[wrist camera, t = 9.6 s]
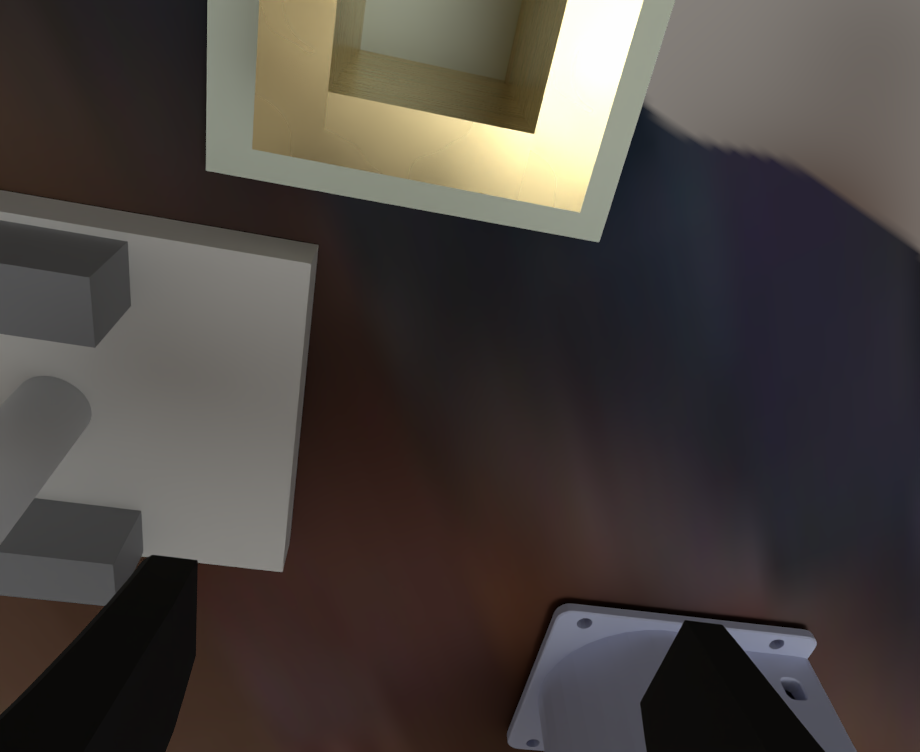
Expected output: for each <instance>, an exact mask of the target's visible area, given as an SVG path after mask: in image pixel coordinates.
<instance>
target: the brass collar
mask: <svg viewBox="0 0 920 752" xmlns="http://www.w3.org/2000/svg"><path fill="white" fill-rule="evenodd" d="M642 3H643V0H522V3H521V8H520V12H519V17H518V21H517V26H516V31H515V35H514V40H513V44H512V49H511V53H510V58H509V62H508V67H507V71H506V76H505V81H504V80H499V79H494V78H490V77H485V76H481V75H476V74H471V73H467V72H462V71H457V70H453V69H448V68H444V67H439V66H434V65H430V64H425V63H420V62H416V61H411V60H407V59H402V58H397V57H393V56H388V55H383V54H379V53H374V52H369V51H365V50H360V47H361V39H362V30H363V22H364V13H365V5H366V0H259V17H258V37H257V58H256V79H255V99H254V120H253V140H252V149H254V150H259V151H264V152H269V153H274V154H280V155H285V156H290V157H295V158H300V159H305V160H311V161H316V162H321V163H326V164H331V165H337V166H342V167H347V168H352V169H357V170H362V171H368V172H373V173H378V174H383V175H388V176H393V177H399V178H404V179H409V180H414V181H419V182H424V183H430V184H435V185H440V186H445V187H450V188H456V189H461V190H466V191H471V192H476V193H481V194H487V195H492V196H497V197H502V198H507V199H512V200H518V201H523V202H528V203H533V204H538V205H543V206H549V207H554V208H559V209H564V210H569V211H574V212H580V211H581V208H582V204H583V201H584V198H585V194H586V191H587V187H588V184H589V181H590V177H591V174H592V171H593V167H594V164H595V161H596V157H597V154H598V151H599V147H600V144H601V141H602V137H603V134H604V131H605V127H606V124H607V121H608V117H609V114H610V111H611V107H612V104H613V101H614V97H615V94H616V90H617V87H618V84H619V80H620V77H621V74H622V70H623V67H624V64H625V60H626V57H627V54H628V50H629V47H630V44H631V40H632V37H633V34H634V30H635V27H636V24H637V20H638V17H639V14H640V10H641V7H642Z"/></svg>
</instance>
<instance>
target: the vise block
mask: <svg viewBox="0 0 920 752" xmlns="http://www.w3.org/2000/svg"><path fill="white" fill-rule="evenodd" d="M318 247H319V245H316V244H310V243H305V242H299V241H293V240H287V239H281V238H276V237H270V236H264V235H258V234H252V233H247V232H241V231H235V230H229V229H223V228H218V227H212V226H206V225H200V224H195V223H189V222H183V221H177V220H171V219H166V218H160V217H154V216H148V215H142V214H137V213H131V212H125V211H119V210H113V209H108V208H102V207H96V206H90V205H84V204H79V203H73V202H67V201H61V200H55V199H50V198H44V197H38V196H32V195H26V194H21V193H15V192H9V191H3V190H0V595H3V596H13V597H23V598H33V599H42V600H52V601H62V602H72V603H81V604H91V605H101V606H105V605H106V604H107V603H108V602H109V601H110V600H111V598H112V597H113V596H114V595H115V594H116V593H117V591H118V590H119V589H120V588H121V587H122V586H123V584H124V583H125V582H126V581H127V580H128V578H129V577H130V576H131V575H132V574H133V572H134V570H135V568H136V566H137V564H138V562H139V560H140V558H141V556H142V557H149V556H151V555H160V556H168V557H176V558H184V559H192V560H198V563H205V564H214V565H223V566H232V567H241V568H250V569H259V570H267V571H276V572H283V568H284V564H285V560H286V556H287V552H288V548H289V543H290V534H291V524H292V513H293V503H294V493H295V482H296V472H297V462H298V452H299V441H300V431H301V421H302V411H303V400H304V390H305V380H306V370H307V359H308V349H309V339H310V329H311V318H312V308H313V298H314V288H315V277H316V267H317V257H318Z"/></svg>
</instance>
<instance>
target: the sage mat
mask: <svg viewBox="0 0 920 752" xmlns="http://www.w3.org/2000/svg"><path fill="white" fill-rule="evenodd" d="M521 3H522V0H366V5H365V13H364V22H363V30H362V39H361V47H360V50H365V51H369V52H374V53H379V54H383V55H388V56H393V57H397V58H402V59H407V60H411V61H416V62H420V63H425V64H430V65H434V66H439V67H444V68H448V69H453V70H457V71H462V72H467V73H471V74H476V75H481V76H485V77H490V78H494V79H499V80H504V81H505V76H506V71H507V67H508V62H509V58H510V53H511V49H512V44H513V40H514V35H515V31H516V26H517V21H518V17H519V12H520V8H521ZM674 3H675V0H643V3H642V7H641V10H640V14H639V17H638V20H637V24H636V27H635V30H634V34H633V37H632V40H631V44H630V47H629V50H628V54H627V57H626V60H625V64H624V67H623V70H622V74H621V77H620V80H619V84H618V87H617V90H616V94H615V97H614V101H613V104H612V107H611V111H610V114H609V117H608V121H607V124H606V127H605V131H604V134H603V137H602V141H601V144H600V147H599V151H598V154H597V157H596V161H595V164H594V167H593V171H592V174H591V177H590V181H589V184H588V187H587V191H586V194H585V198H584V201H583V204H582V208H581V211H580V212H574V211H569V210H564V209H559V208H554V207H549V206H543V205H538V204H533V203H528V202H523V201H518V200H512V199H507V198H502V197H497V196H492V195H487V194H481V193H476V192H471V191H466V190H461V189H456V188H450V187H445V186H440V185H435V184H430V183H424V182H419V181H414V180H409V179H404V178H399V177H393V176H388V175H383V174H378V173H373V172H368V171H362V170H357V169H352V168H347V167H342V166H337V165H331V164H326V163H321V162H316V161H311V160H305V159H300V158H295V157H290V156H285V155H280V154H274V153H269V152H264V151H259V150H254V149H252V140H253V120H254V99H255V79H256V58H257V37H258V17H259V0H208V1H207V106H206V171H211V172H216V173H222V174H227V175H233V176H238V177H244V178H249V179H255V180H260V181H266V182H271V183H277V184H282V185H288V186H293V187H299V188H304V189H310V190H315V191H320V192H326V193H331V194H337V195H342V196H348V197H353V198H359V199H364V200H370V201H375V202H381V203H386V204H392V205H397V206H403V207H408V208H414V209H419V210H425V211H430V212H436V213H441V214H447V215H452V216H458V217H463V218H469V219H474V220H480V221H485V222H491V223H496V224H502V225H507V226H513V227H518V228H523V229H529V230H534V231H540V232H545V233H551V234H556V235H562V236H567V237H573V238H578V239H584V240H589V241H595V242H599V241H600V238H601V235H602V232H603V229H604V225H605V222H606V219H607V216H608V213H609V210H610V206H611V203H612V200H613V197H614V194H615V191H616V187H617V184H618V181H619V178H620V175H621V171H622V168H623V165H624V162H625V159H626V156H627V152H628V149H629V146H630V143H631V140H632V136H633V133H634V130H635V127H636V124H637V121H638V117H639V114H640V111H641V108H642V105H643V102H644V98H645V95H646V92H647V88H648V86H649V82H650V79H651V76H652V73H653V70H654V67H655V63H656V60H657V57H658V54H659V51H660V47H661V44H662V41H663V38H664V34H665V32H666V28H667V25H668V22H669V18H670V15H671V12H672V9H673V6H674Z"/></svg>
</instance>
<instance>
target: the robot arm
mask: <svg viewBox="0 0 920 752" xmlns="http://www.w3.org/2000/svg"><path fill="white" fill-rule="evenodd" d="M197 565H198V560H192V559H184V558H176V557H168V556H160V555H151V556H149V557H147V558H146V559H144V560H143V561H142V563H141V564H140V565H139V566H138V567H137V569H136V570H135V571H134V572H133V574H132V575H131V576H130V577H129V578H128V580H127V581H126V582H125V583H124V584H123V586H122V587H121V588H120V589H119V590H118V591H117V593H116V594H115V595H114V596H113V597H112V598H111V600H110V601H109V602H108V603H107V604H106V605H105V606H104V608H103V609H102V610H101V611H100V612H99V613H98V614H97V615H96V617H95V618H94V619H93V620H92V621H91V622H90V623H89V624H88V625H87V626H86V628H85V629H84V630H83V631H82V632H81V633H80V634H79V635H78V636H77V637H76V638H75V640H74V641H73V642H72V643H71V644H70V645H69V646H68V647H67V648H66V649H65V650H64V651H63V652H62V653H61V654H60V655H59V656H58V657H57V658H56V659H55V660H54V661H53V662H52V664H51V665H50V666H49V667H48V668H47V669H46V670H45V671H44V672H43V673H42V674H41V675H40V676H39V677H38V678H37V679H36V680H35V681H34V682H33V683H32V684H31V685H30V686H29V687H28V688H27V689H26V690H25V691H24V692H23V693H22V694H21V695H20V696H19V697H18V698H17V699H16V700H15V701H14V702H13V703H12V704H11V705H10V706H9V707H8V708H7V709H6V710H5V711H4V712H3V713H2V714H1V715H0V752H165V751H166V749H167V746H168V744H169V741H170V739H171V736H172V733H173V731H174V728H175V724H176V721H177V718H178V714H179V711H180V708H181V704H182V701H183V698H184V694H185V691H186V687H187V684H188V680H189V677H190V673H191V670H192V666H193V663H194V660H195V656H196V612H197ZM583 618H585V619H583ZM816 644H817V643H816V640H815V638H814V636H813V634H812V633H811V632H810V631H808V630H804V629H796V628H787V627H778V626H769V625H761V624H752V623H743V622H734V621H725V620H716V619H707V618H698V617H689V616H680V615H671V614H662V613H653V612H645V611H636V610H627V609H618V608H609V607H600V606H591V605H582V604H573V603H567V604H563V605H561V606H559V607H558V608H557V609H556V610H555V612H554V614H553V616H552V619H551V622H550V624H549V627H548V629H547V632H546V634H545V637H544V639H543V642H542V644H541V647H540V650H539V652H538V655H537V657H536V660H535V662H534V665H533V667H532V670H531V673H530V675H529V678H528V680H527V683H526V685H525V688H524V690H523V693H522V696H521V698H520V701H519V703H518V706H517V708H516V711H515V713H514V716H513V718H512V721H511V724H510V726H509V729H508V731H507V742H508V744H509V745H510V746H511V747H513V748H516V749H526V750H538V751H544V752H857V751H856V749H855V747H854V746H853V744H852V742H851V740H850V738H849V736H848V734H847V732H846V730H845V729H844V727H843V725H842V723H841V721H840V719H839V717H838V715H837V713H836V712H835V710H834V708H833V706H832V704H831V702H830V700H829V698H828V696H827V695H826V693H825V691H824V689H823V687H822V685H821V683H820V681H819V679H818V678H817V676H816V674H815V672H814V670H813V668H812V666H811V664H810V662H809V661H808V657H809V656H810V654H811V653H812V652H813V650H814V649H815V647H816Z"/></svg>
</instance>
